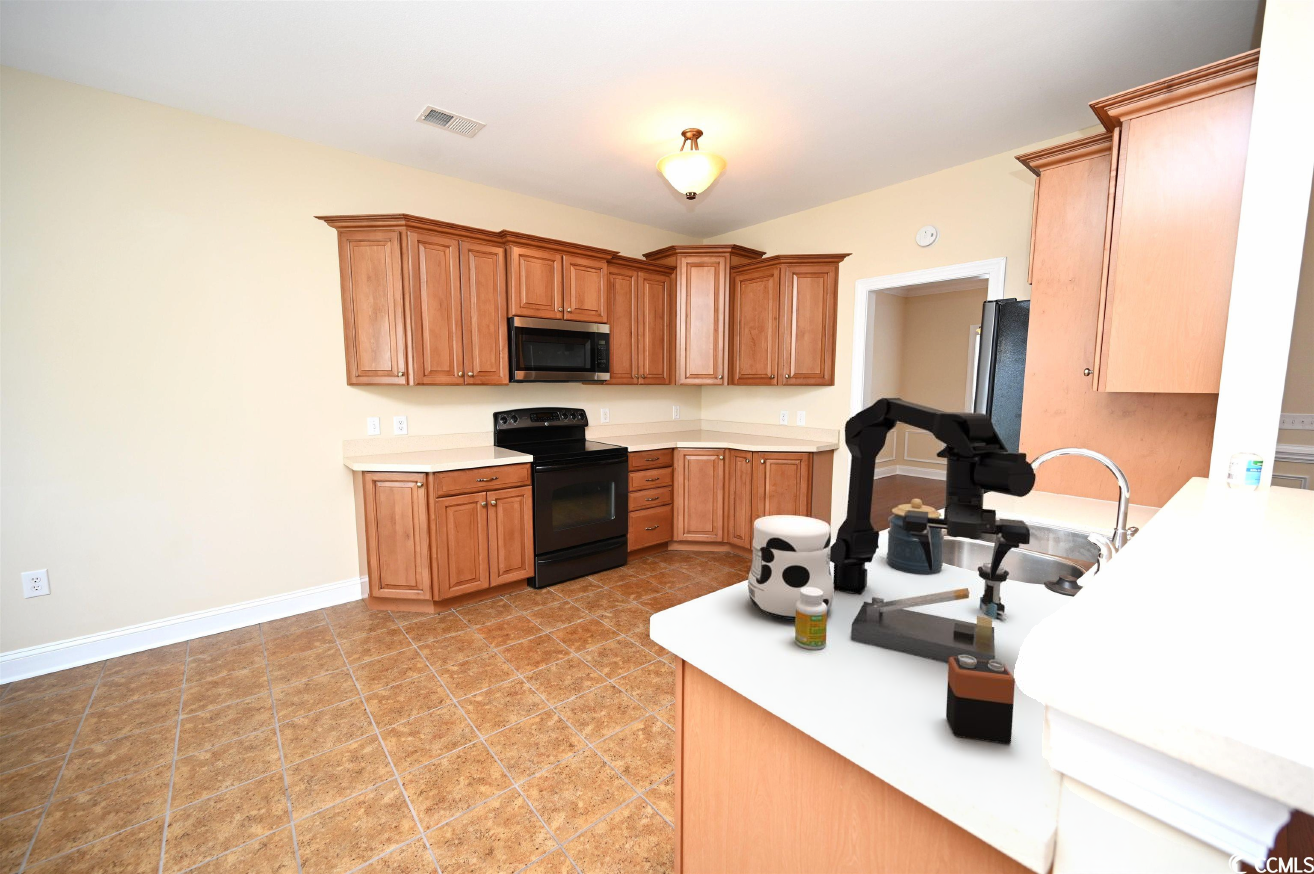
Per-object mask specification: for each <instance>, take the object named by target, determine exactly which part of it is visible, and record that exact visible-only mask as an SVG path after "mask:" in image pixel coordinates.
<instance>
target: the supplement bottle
mask: <svg viewBox="0 0 1314 874" xmlns="http://www.w3.org/2000/svg"><path fill="white" fill-rule="evenodd" d="M800 598H801V599H800V600H799V601H798V602H797V603H796V619H795V623H794V625H795V627H794V628H795V631H794V633H795V634H794V641H795V644H796V645H798V646H799V647H801V648H803V649H807V650H813V651H814V650H815V651H817V650H821V649H823V648H825V647H826V646H827V645H826V644H827V632H828V631H827V625H828V624H827V622H828V619H827V618H828V611H827V606H826V604H825V603H824V602H822V601H823V591H822V590H820V589H818V588H813V587H804V588H801V589H800Z"/></svg>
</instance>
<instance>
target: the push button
mask: <svg viewBox="0 0 1314 874" xmlns="http://www.w3.org/2000/svg"><path fill="white" fill-rule="evenodd" d="M990 567H991V562H985V563H983V564H982V566H978V567H977V571H978V576H979V578H981V579H982V580H984V588H983V589H984V590H983V594H982V596H980V597H979V607H978V608H979V610H981V612H982V613H983V614H986V615H988V616H989V617H991V619H1000V620H1006V619H1007V618H1005V617H1004V616H1007V614H1006V613H1005V612H1006V611H1005V610H1006V607H1005V604H1004V603H1002V602H1001V600H1002V598H1001V595H1000V594H1001V584H1002V583H1003V582H1006V581H1007V580H1008V576H1009V575H1010V571H1008V570H1006V569H1005V566H1003V565H1002V564H1000V566H999V568H998V570H997V572H996V574H995V577H994V579H990Z"/></svg>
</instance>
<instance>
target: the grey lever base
mask: <svg viewBox="0 0 1314 874" xmlns="http://www.w3.org/2000/svg"><path fill="white" fill-rule="evenodd" d="M875 602H878V603H881V602H885V599H884V598H880V597H876V596H875V597H874V596H872V597H871V602H869V601H864V602H863V604H862V605H861V607H860V609H859V610H858V612H857V614H856V616H855V617H854V619H853V621H852V622H851V632H850V634H851V636H850V637H851V638H850V640H851V641H854V642H858V643H863V644H866V645H870V646H875V647H879V648H883V649H887V650H893V651H897V652H900V653H905V654H909V655H913V656H918V657H921V658H925V659H930V660H934V661H938V662H942V663H947V664H949V658H950V657H958V656H959V655H968V656H971V657H974V658H975V659H976V660H985V661H990V660H996V655H995V654H996V652H995V650H996V647H995V645H996V644H995V626H993V618H992V617H991V618H990V617H986V616H979V615H976V623H974V622H970V621H967V620H966V621H965V620H961V619H955V618H951V617H945V616H941V615H934V614H930V613H923V612H920V611H915V610H914V611H913V610H910V609H906V608H904V609H897V610H891V611H885V612H880V607H875V606H873V604H874V603H875Z"/></svg>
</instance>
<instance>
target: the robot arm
mask: <svg viewBox="0 0 1314 874" xmlns="http://www.w3.org/2000/svg"><path fill="white" fill-rule="evenodd" d="M898 422H899V423H902V424H905V425H907V426H911V427H913V428H914V427H915V428H918V429H920V430H923V431H926V432H929V433H931V434H932V435H933V436H934V438H935V439H936V440H938V441H939V442H941V443H943V444H945V446H944V447H943V448H942V449H941V450H940V451H938V452H937V453H936V455H935V456H936V457H937V458H941V459H946V471H945V472H946V474H945V493H944V498H945V499H944V509H943V515H944V516H943V517H939V518H934V517H928V512H925V511H914V510H908V511H906V512H905V513H904V516H903V526H902V530H904V531H909V532H910V535H911V536H914V537H917V539H918V540H919V542H920V544H921V546H922V548H923V551H924V554H925V557H926V560H927V563H928V566H929V570H930V571H932V567H933V558H932V547H931V537H930V528H937V529H942V530H946V534H947V535H948V536H949V537H951V538H965V539H970V540H974V541H975V540H980V539H981V538H982V534H987V535H995V540H994V545H993V550H992V557H991V562H990V563H991V567H990V579H994V577H995V574H996V572H997V570H998V568H999V566H1000V565H1002V562H1003V560H1004V558H1005V557H1006V555H1007V554H1008V553H1009V552H1010V550H1012V549H1018V548H1020V545H1030V543H1031V542H1030V541H1031V539H1030V538H1031V530H1030V528H1029V526H1028V524H1027V523H1026V522H1025V521H1024V520H1021V519H1008V518H999V519H998V523H996V522H997V510H996V509H991V508H990V509H989V508H984V499H985V498H984V495H985V494H984V493H985V492H984V491H987V492H992V493H997V494H1003V495H1008V496H1013V497H1017V498H1023V497H1026V496H1027V495H1029V494H1030V493H1031V491H1032V490H1033V488H1034V486H1035V483H1036V476H1037V475H1036V473H1035V471H1034V468H1033V465H1032V463H1030V462H1028V460H1027V453H1026V452H1009V451H1008V448H1007V447H1006V445H1005V444H1004V442H1003V440H1002V439H1001V437H1000V436H999V434H998V432H997V431H996V429H995V427H994V425H993V422H992V418H991V417H990V416H989V415H988V414H985V413H981V412H980V413H979V412H965V411H964V412H962V411H960V412H959V411H956V412H955V411H954V412H953V411H946V410H945V411H944V410H941V409H937V408H933V407H929V406H926V405H922V404H919V403H914V402H910V401H907V400H905V399H902V398H901V397H882V398H879V399H877V400H876V401H875V402H874V403H873V404H872V405H870V406H868V407H866V408H864V409H863V410H860V411H859V412H856V414H854V415H853V416H851V417H849V419H848V420H846V422H845V425H844V443H845V445H846V447H847V449H848V451H849V453H850V455H851V459H850V470H849V483H848V494H847V507H846V516H845V520H844V521H843V522H842V523H841V524H840V526H839V528H838V530H837V534H836V539H835V541H834V543H833V544H832V545H830V546H831V550H830V563H832V564H833V578H832V579H833V584H834V591H835V590H836V591H840V592H844V593H845V592H846V593H851V594H855V595H856V594H857V595H861V594H863V591H864V590H866V588H867V586H868V568H866V563H872V562H873V559H874V556H875V554H876V552H877V549H879V548H880V546H879V538H880V532H879V530H875V527H874V526H873V524H872V522H871V515H872V504H873V493H874V482H875V473H876V472H875V471H876V461H877V460H876V459H877V457H878V456H879V454H880V452H882V450H883V448H884V447H885V445H886V441H887V436H888V434H889V433H890V432H891V431H892V430H894V429H895V428H896V426H897V423H898Z"/></svg>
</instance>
